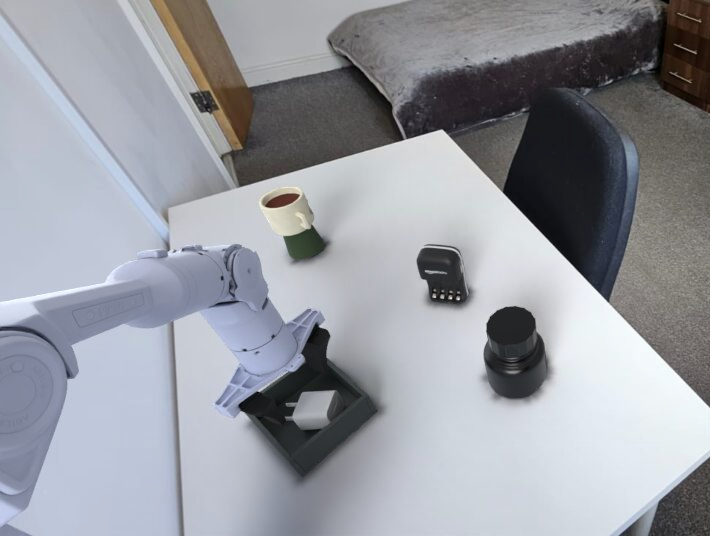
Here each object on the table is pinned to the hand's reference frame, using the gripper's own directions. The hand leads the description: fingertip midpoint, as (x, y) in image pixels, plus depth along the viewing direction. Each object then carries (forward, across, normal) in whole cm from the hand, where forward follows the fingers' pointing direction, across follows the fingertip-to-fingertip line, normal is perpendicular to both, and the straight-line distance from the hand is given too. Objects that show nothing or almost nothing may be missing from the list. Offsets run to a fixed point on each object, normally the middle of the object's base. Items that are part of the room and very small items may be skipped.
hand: (300, 394), depth 62 cm
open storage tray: (+6, 0, 0) cm, 6 cm away
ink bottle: (+6, +15, -24) cm, 29 cm away
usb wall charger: (+6, 0, 0) cm, 6 cm away
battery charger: (+6, +25, -6) cm, 27 cm away
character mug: (+6, +28, +26) cm, 38 cm away
